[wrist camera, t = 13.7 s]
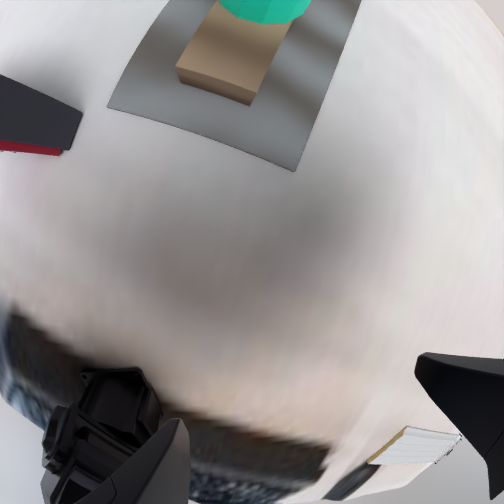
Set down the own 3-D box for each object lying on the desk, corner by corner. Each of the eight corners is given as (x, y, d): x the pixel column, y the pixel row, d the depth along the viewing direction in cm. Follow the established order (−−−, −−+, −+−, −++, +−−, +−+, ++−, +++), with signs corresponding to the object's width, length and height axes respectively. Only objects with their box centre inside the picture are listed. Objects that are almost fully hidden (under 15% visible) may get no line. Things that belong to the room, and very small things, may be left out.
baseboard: (411, 416, 29) (364, 457, 30) (420, 428, 26) (371, 470, 28) (461, 428, 37) (430, 458, 38) (467, 435, 34) (436, 465, 35)
